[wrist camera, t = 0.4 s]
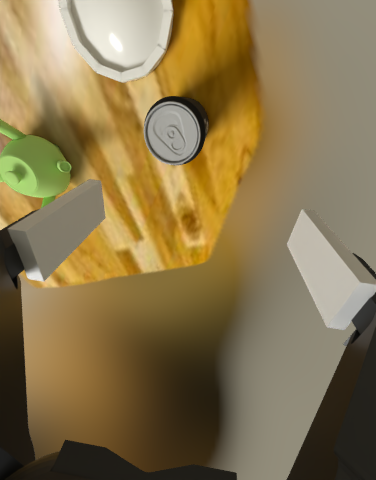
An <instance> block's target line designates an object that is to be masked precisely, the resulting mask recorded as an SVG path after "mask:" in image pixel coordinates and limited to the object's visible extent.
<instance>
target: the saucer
mask: <svg viewBox="0 0 376 480" xmlns="http://www.w3.org/2000/svg"><path fill="white" fill-rule="evenodd" d="M59 8H61V9H59V10H60V13H61V16H62V18H63V21H64V24H65V26H66V29H67V31H68V34H69V37H70V39H71V42H72V45H73V46H74V48H75V49H76V51H77V52H78V53H79V54H80V55H81V56H82V57H83V58H84V60H85V61H86V62H87V63H88V64H89V65H90V66H91V68H92V69H93V70H94V71H95V72H97V73H98V74H101V75H103V76H106V77H109V78H111V79H114V80H117V81H119V82H123V83H126V82H129V81H135V80H139V79H141V78H144V77H145V76H148V75H149V74H150V73H151V72H152V71H153V70H155V68H156V67H157V66H158V65H159V64H160V62H161V61H162V59H163V57H164V55H165V53H166V51H167V48H168V46H169V42H170V38H171V34H172V27H173V16H174V14H173V12H174V10H173V3H172V0H59Z"/></svg>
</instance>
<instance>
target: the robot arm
mask: <svg viewBox="0 0 376 480" xmlns="http://www.w3.org/2000/svg"><path fill="white" fill-rule="evenodd" d="M104 219H105V211H104V202H103V194H102V186H101V181H99V180H92V179H89V180H87V181H86V182H84V183H82V184H81V185H79V186H77V187H76V188H74V189H72V190H71V191H69V192H67V193H66V194H64V195H63V196H61V197H59V198H58V199H56V200H54V201H53V202H51V203H49V204H48V205H46V206H44V207H43V208H41V209H38V210H35V211H32V212H31V213H29V214H27V215H26V216H25V217H22V218H21V219H19V220H18V221H15V222H14V223H12V224H10V225H9V226H7V227H5V228H4V229H2V230H0V480H237V475H236V473H235V472H230V471H224V470H219V469H214V468H209V467H204V466H199V465H188V466H183V467H178V468H173V469H166V470H161V471H156V472H149V473H148V472H144V471H142V470H140V469H139V468H137V467H135V466H134V465H132V464H131V463H129V462H127V461H126V460H124V459H123V458H121V457H120V456H118V455H117V454H115V453H114V452H112V451H110V450H109V449H107V448H105V447H100V446H95V445H89V444H84V443H79V442H74V441H68V440H65V442H64V444H63V446H62V448H61V450H60V451H59V452H55V453H52V454H49V455H46V456H43V457H41V458H39V459H37V460H35V452H34V448H33V444H32V441H31V437H30V434H29V428H28V414H27V395H26V376H25V356H24V338H23V319H22V299H21V281H20V278H19V276H18V274H19V273H21V272H22V271H23V270H25V272H26V274H27V277H28V279H32V280H38V281H45V280H46V279H47V278H48V277H49V276H50V275H51V274H52V273H53V271H54V270H55V269H56V268H57V267H58V266H59V265H60V264H61V263H62V262H63V261H64V260H65V259H66V258H67V257H68V256H69V255H70V254H71V253H72V252H73V251H74V250H75V249H76V248H77V247H78V246H79V245H80V244H81V243H82V242H83V241H84V239H85V238H86V237H87V236H88V235H89V234H90V233H91V232H92V231H93V230H94V229H95V228H96V227H97V226H98V225H99V224H100V223H101V222H102V221H103V220H104ZM287 246H288V248H289V250H290V252H291V254H292V256H293V258H294V261H295V263H296V265H297V266H298V269H299V271H300V273H301V275H302V277H303V279H304V281H305V283H306V285H307V287H308V289H309V291H310V294H311V296H312V298H313V300H314V302H315V304H316V306H317V308H318V310H319V312H320V314H321V316H322V318H323V320H324V322H325V324H326V326H327V327H329V328H335V329H341V330H345V329H346V327H347V326H348V325H349V324H350V323H351V321H352V322H353V324H354V325H355V327H356V330H355V331H354V333H353V334H352V335H351V336H350V337H349V338H348V339H347V340H346V342H345V343H344V345H345V346H347V347H346V349H345V351H344V353H343V355H342V357H341V360H340V362H339V364H338V366H337V369H336V371H335V373H334V375H333V378H332V380H331V382H330V384H329V387H328V389H327V391H326V393H325V396H324V398H323V400H322V402H321V405H320V407H319V409H318V411H317V413H316V416H315V418H314V420H313V422H312V425H311V427H310V429H309V431H308V433H307V436H306V438H305V440H304V442H303V445H302V447H301V449H300V451H299V454H298V456H297V458H296V460H295V463H294V465H293V467H292V469H291V471H290V474H289V476H288V478H287V480H376V274H375V272H374V271H373V270H372V269H371V268H370V267H369V266H368V264H367V263H366V262H365V261H364V260H363V259H361V258H360V257H359V256H357V255H356V254H354V253H352V252H351V251H350V250H349V249H348V248H347V247H346V246H345V245H344V243H343V242H342V241H341V240H340V239H339V238H338V237H337V236H336V234H335V233H334V232H333V231H332V230H331V229H330V228H329V227H328V225H327V224H326V223H325V222H324V221H323V220H322V219H321V218H320V216H319V215H318V214H317V213H316V212H315V211H313V210H306V209H302V210H301V213H300V215H299V217H298V220H297V222H296V224H295V227H294V229H293V231H292V234H291V236H290V238H289V240H288V243H287Z"/></svg>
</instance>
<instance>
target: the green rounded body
mask: <svg viewBox="0 0 376 480" xmlns="http://www.w3.org/2000/svg"><path fill="white" fill-rule="evenodd" d="M0 132H1V133H2V134H4V135H6V136H8V137H10V138H11V139H13V140H12V141H10V142H9V143H8V144H7V145H6V146H5V148H4V149H3V151H2V153H1V155H0V182H6V184H7V185H8V186H9V187H11V188H12V189H13V190H15V191H17V192H19V193H21V194H24V195H28V196H33V197H44V198H43V202H42V206H41V208H43V207H44V206H46V205H48V204H49V203H51V202H53V201H54V200H55V197H56V195H59V194H60V193H62V192H64V191H65V190H66V189H67V187H68V185H69V182H70V178H71V174H70V171H71V164H70V163H69V162H67V161H66V159H65V158H64V156H63V154H62V153H61V152H60V148H59V147H58V146H57V145H56V144H52V143H51V142H49V141H47V140H46V139H44V138H41V137H38V136H34V135H25V134H23V133H22V132H20V131H19V130H17V129H15V128H14V127H12V126H10V125H9V124H7V123H6V122H4V121H2V120H1V119H0Z"/></svg>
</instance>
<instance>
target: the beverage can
mask: <svg viewBox="0 0 376 480" xmlns="http://www.w3.org/2000/svg"><path fill="white" fill-rule="evenodd" d="M208 125H209V123H208V116H207V113H206V111H205V109H204V108H203V106H202V105H201V104H200V103H199V102H197V101H196V100H194V99H191V98H185V97H177V96H169V97H165V98H162V99H160V100H159V101H157V102H156V103H155V104H154V105H153V106H152V107H151V108H150V110H149V112H148V113H147V116H146V119H145V124H144V137H145V142H146V145H147V147H148V149H149V150H150V152H151V153H152V155H153V156H154V157H155V158H157V159H158V160H159V161H161V162H163V163H166V164H170V165H183V164H186V163H188V162H190V161H192V160H193V159H194V158H195V157H196V156H197V155H198V154H199V152H200V151H201V149H202V147H203V144H204V141H205V138H206V135H207V132H208Z"/></svg>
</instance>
